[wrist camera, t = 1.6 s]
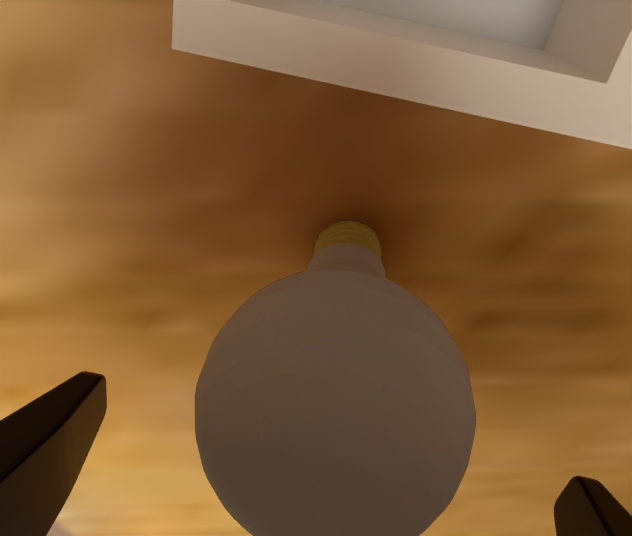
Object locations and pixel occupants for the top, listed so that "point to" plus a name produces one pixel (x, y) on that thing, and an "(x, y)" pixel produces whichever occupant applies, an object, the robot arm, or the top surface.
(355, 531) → the light bulb
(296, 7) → the white hollow square box
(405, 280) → the top surface
